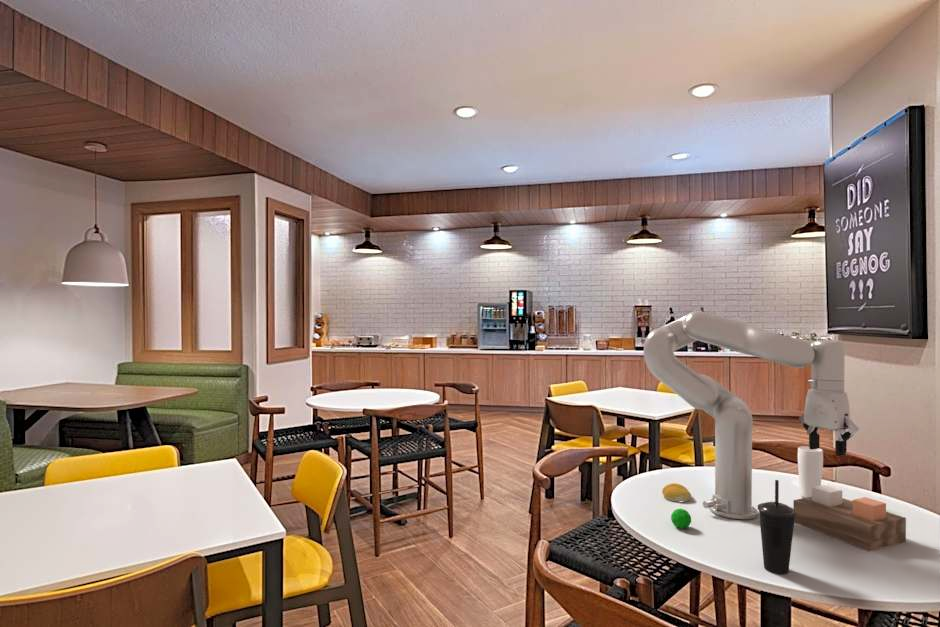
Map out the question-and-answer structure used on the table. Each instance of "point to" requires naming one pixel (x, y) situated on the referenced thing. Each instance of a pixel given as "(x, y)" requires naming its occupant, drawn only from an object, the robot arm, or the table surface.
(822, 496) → the white plug
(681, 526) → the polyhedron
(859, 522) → the walnut block
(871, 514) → the terracotta plug
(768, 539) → the drinking cup
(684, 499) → the bread roll
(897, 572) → the table surface
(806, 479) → the drinking glass
